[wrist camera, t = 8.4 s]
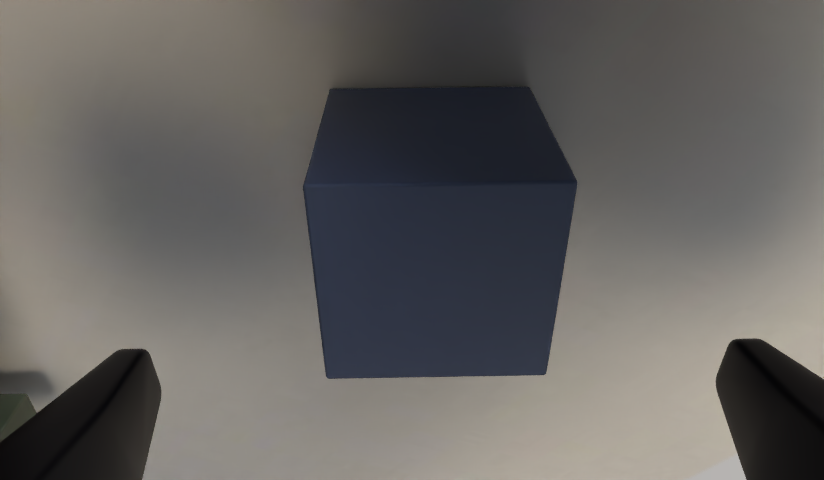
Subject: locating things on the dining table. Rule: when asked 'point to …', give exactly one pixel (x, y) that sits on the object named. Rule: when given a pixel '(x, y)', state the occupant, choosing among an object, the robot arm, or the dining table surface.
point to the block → (437, 232)
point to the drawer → (14, 412)
